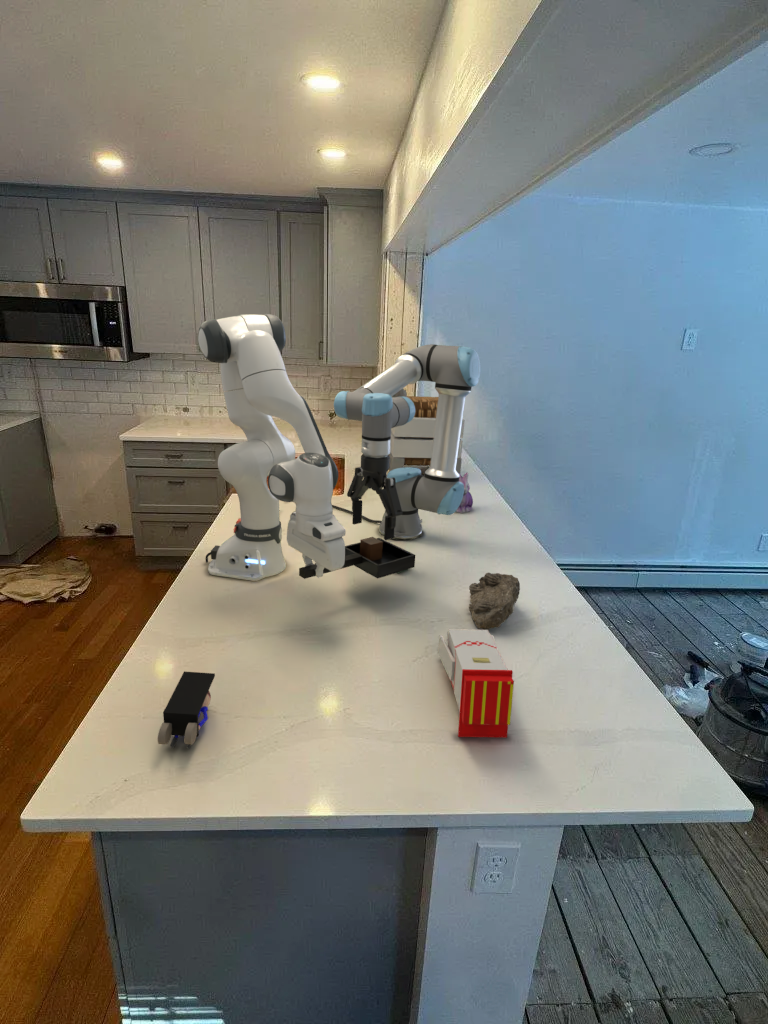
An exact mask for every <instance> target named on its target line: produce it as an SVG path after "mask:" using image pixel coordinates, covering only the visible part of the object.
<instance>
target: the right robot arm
mask: <svg viewBox="0 0 768 1024" xmlns="http://www.w3.org/2000/svg"><path fill="white" fill-rule="evenodd" d="M480 378H481V360H480V356H479V353H478V352H477V351H476V349H474V348H472V347H468V346H463V345H460V346H459V345H446V344H445V345H444V344H443V345H442V344H436V343H435V344H434V343H433V344H432V343H430V344H424V345H421V346H418V347H415V348H412V349H410V350H408V351H406V352H404V353H403V354H401V355H400V356H398V357H397V358H396V359H395V362H394V364H391V366H389V367H388V368H386V369H385V370H383V371H382V372H380V373H379V374H378V375H376V376H375V377H373V378H372V379H370V380H368V381H367V382H366V383H364V384H363V385H361V386H360V387H358V388H357V389H355V390H353V391H350V390H346V391H344V390H342V391H339V392H338V393H337V394H336V395H335V398H334V400H333V408H334V409H333V410H334V413H335V415H336V416H337V417H339V418H341V419H345V420H348V421H350V420H352V421H358V422H361V444H360V445H361V446H360V447H361V448H360V452H361V455H360V466H357V467H355V468H354V475H353V477H352V480H351V482H350V485H349V487H348V491H347V493H346V496H347V497H348V498H350V500H351V510H349V509H346V508H344V507H340V506H337V505H334V504H332V507H333V509H336V510H337V509H338V510H339V511H342V512H345V513H348V514H351V515H352V523H351V524H352V525H358V524H362V523H363V519H364V520H365V521H367V522H370V523H373V524H379V526H378V533H379V534H380V535H381V536H382V537H383V540H385V541H388V540H395V541H410V540H415V539H418V538H420V537H421V536H422V535H423V525H422V523H423V519H422V518H420V515H419V510H421V511H426V512H429V513H435V514H437V515H445V516H451V515H453V514H454V513H456V512H455V511H456V510H457V509H458V507H459V505H460V503H461V501H462V498H463V494H464V484H463V483H461V482H459V477H460V475H461V474H460V475H459V474H458V473H457V471H456V464H457V457H458V449H459V442H460V439H461V438H460V434H461V427H462V419H464V412H465V411H464V410H465V403H466V397H467V396H468V395H469V394H470V393H471V392H472V387H476V386H477V385H478V384H479V382H480V381H479V380H480ZM418 382H431V383H434V389H435V391H436V393H438V396H437V397H438V405H437V413H436V421H435V430H434V438H433V446H432V454H431V463H430V466H428V468H427V469H426V470H424V474H422V470H421V468H419V467H414V466H411V467H409V466H406V467H404V468H397V469H393V470H391V471H390V467H389V465H390V457H389V454H390V445H391V428H394V427H397V426H402V425H404V424H406V423H408V422H410V421H411V420H412V419H413V417H414V415H415V406H414V403H413V402H412V400H410V399H409V398H407V397H404V396H402V397H400V396H397V397H392V396H393V395H395V394H396V393H397V392H399V391H400V390H401V389H404V388H405V387H406V386H408V385H414V384H416V383H418ZM387 472H388V473H387ZM368 489H370V490H372V491H374V492H375V493H376V494H377V495H378V496H379V499H380V501H381V503H382V505H383V508H384V513H383V515H382V519H381V520H379V519H378V520H377V519H376V520H375V519H372V518H368V517H366V516H365V515H363V496H364V495H365V493H367V491H368Z"/></svg>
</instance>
